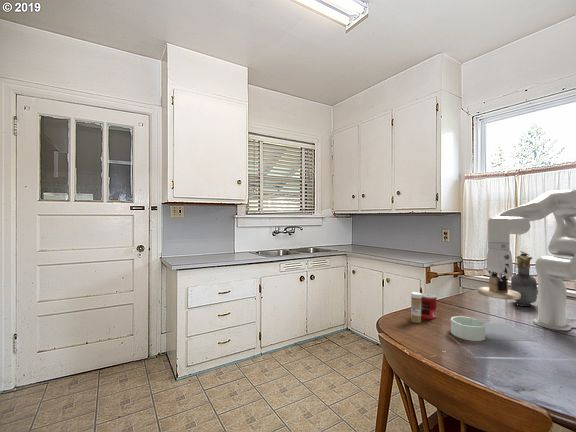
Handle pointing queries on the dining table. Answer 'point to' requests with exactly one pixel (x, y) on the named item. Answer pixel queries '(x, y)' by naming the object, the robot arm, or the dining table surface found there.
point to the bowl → (468, 328)
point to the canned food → (428, 306)
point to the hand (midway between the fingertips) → (498, 288)
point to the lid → (495, 293)
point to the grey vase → (524, 281)
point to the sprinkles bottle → (416, 307)
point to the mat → (504, 333)
